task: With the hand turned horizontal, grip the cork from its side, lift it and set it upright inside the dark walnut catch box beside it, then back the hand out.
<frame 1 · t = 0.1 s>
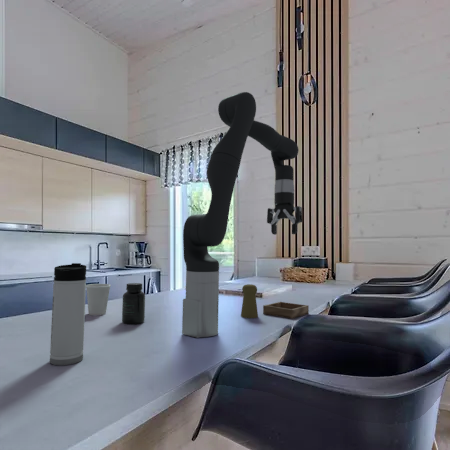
hand: (284, 234, 130), 29 cm above the countertop, tool pointing down, fingers open, 8 cm apart
travel mug: (66, 361, 70), on the countertop
catch box: (286, 313, 123), on the countertop
supplement bottle: (133, 322, 106), on the countertop
cork: (249, 317, 118), on the countertop
dixie cup: (97, 314, 118), on the countertop
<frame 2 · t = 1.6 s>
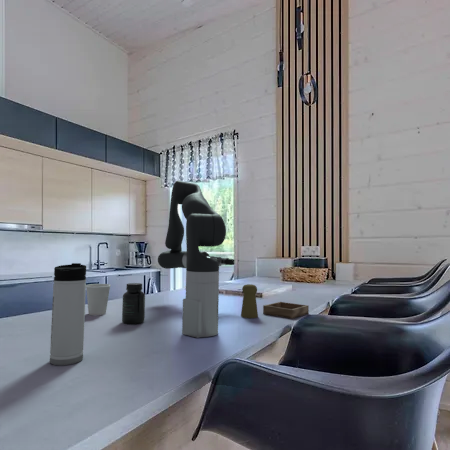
hand: (226, 262, 126), 18 cm above the countertop, tool horizontal, fingers open, 8 cm apart
nothing on the countertop moved.
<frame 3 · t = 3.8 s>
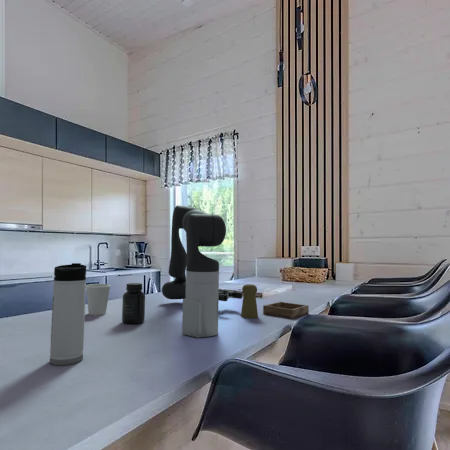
hand: (234, 297, 122), 6 cm above the countertop, tool horizontal, fingers open, 8 cm apart
nothing on the countertop moved.
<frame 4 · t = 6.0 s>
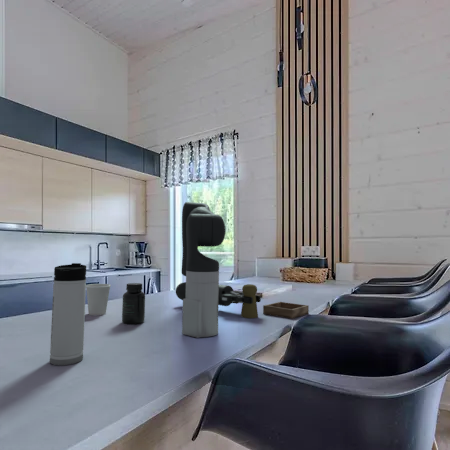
hand: (256, 299, 116), 6 cm above the countertop, tool horizontal, fingers closed on cork, 4 cm apart
cork: (249, 316, 118), on the countertop, touching gripper
everything else where it was.
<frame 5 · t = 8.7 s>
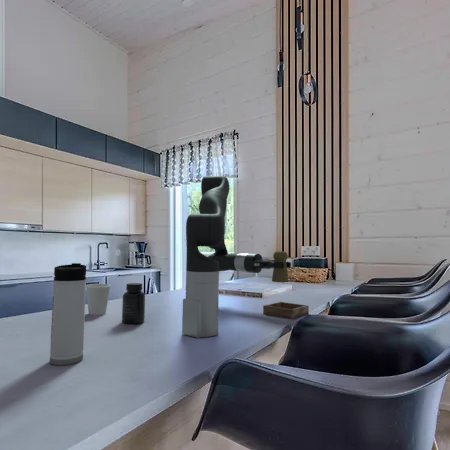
hand: (287, 265, 122), 18 cm above the countertop, tool horizontal, fingers closed on cork, 4 cm apart
cork: (280, 282, 124), point 12 cm above the countertop, touching gripper
everything else where it was.
when the fingers open (8 cm above the countertop, at t = 11.2 s): cork moves 2 cm, resting on catch box.
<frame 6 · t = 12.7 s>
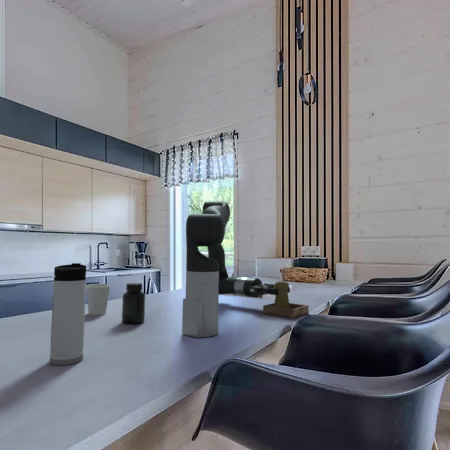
hand: (283, 291, 124), 8 cm above the countertop, tool horizontal, fingers open, 8 cm apart
cork: (281, 312, 122), point 1 cm above the countertop, touching catch box
everything else where it was.
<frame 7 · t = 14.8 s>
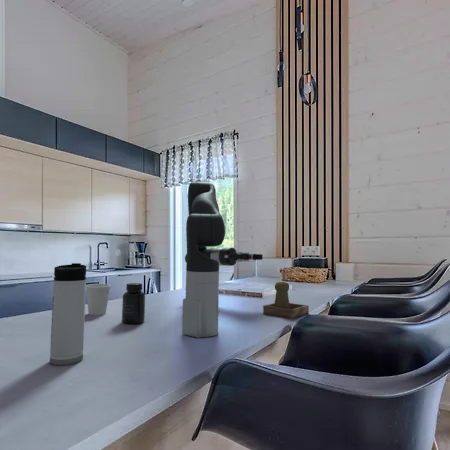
hand: (255, 256, 131), 20 cm above the countertop, tool horizontal, fingers open, 8 cm apart
nothing on the countertop moved.
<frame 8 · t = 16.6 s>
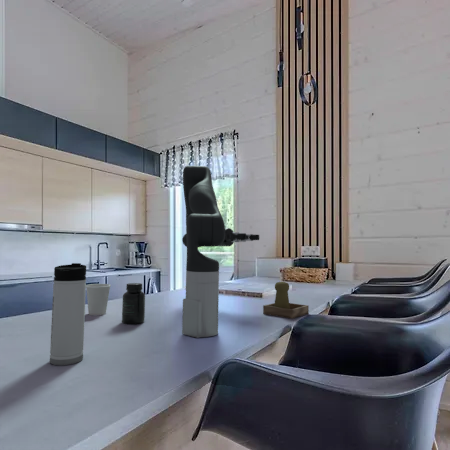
hand: (252, 237, 131), 28 cm above the countertop, tool horizontal, fingers open, 8 cm apart
nothing on the countertop moved.
at the end: cork inside the target area on the catch box (1.9 cm from its centre), point 0.4 cm above the catch box's base; cork tilted 0°; the gripper is holding nothing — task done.
